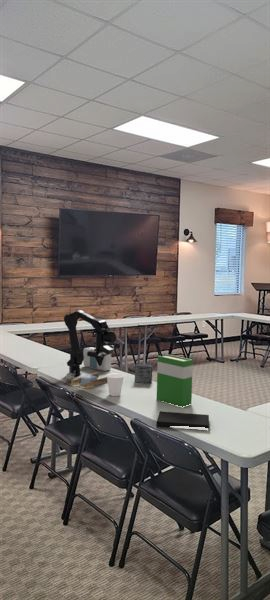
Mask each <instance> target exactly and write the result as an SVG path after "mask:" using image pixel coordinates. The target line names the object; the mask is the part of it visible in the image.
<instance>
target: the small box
mask: <svg viewBox="0 0 270 600" xmlns="http://www.w3.org/2000/svg"><path fill="white" fill-rule="evenodd" d="M152 382H153V364H139V363H138V364H137V363H136V364H135V365H134V383H135V384H152ZM134 383H133V384H134Z"/></svg>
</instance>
